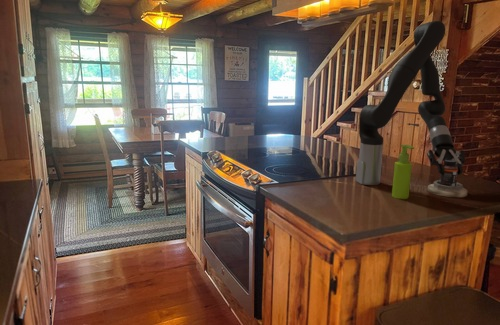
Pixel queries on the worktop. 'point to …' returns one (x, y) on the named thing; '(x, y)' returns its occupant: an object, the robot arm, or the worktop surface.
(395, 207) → the worktop surface
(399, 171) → the soap dispenser
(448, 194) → the collar plate
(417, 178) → the worktop surface
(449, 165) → the supplement bottle
